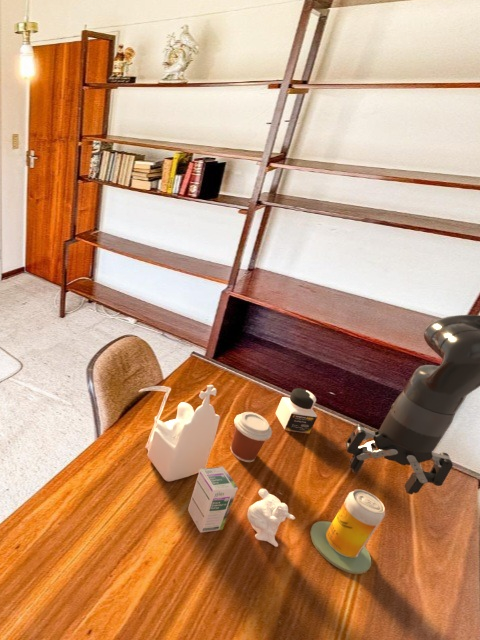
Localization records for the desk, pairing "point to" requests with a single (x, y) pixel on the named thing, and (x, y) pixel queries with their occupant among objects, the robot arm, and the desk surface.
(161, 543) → the desk surface
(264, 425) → the coffee cup
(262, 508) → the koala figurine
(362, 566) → the coaster
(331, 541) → the beer can
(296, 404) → the medicine bottle
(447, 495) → the desk surface
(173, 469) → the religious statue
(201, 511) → the syrup box
